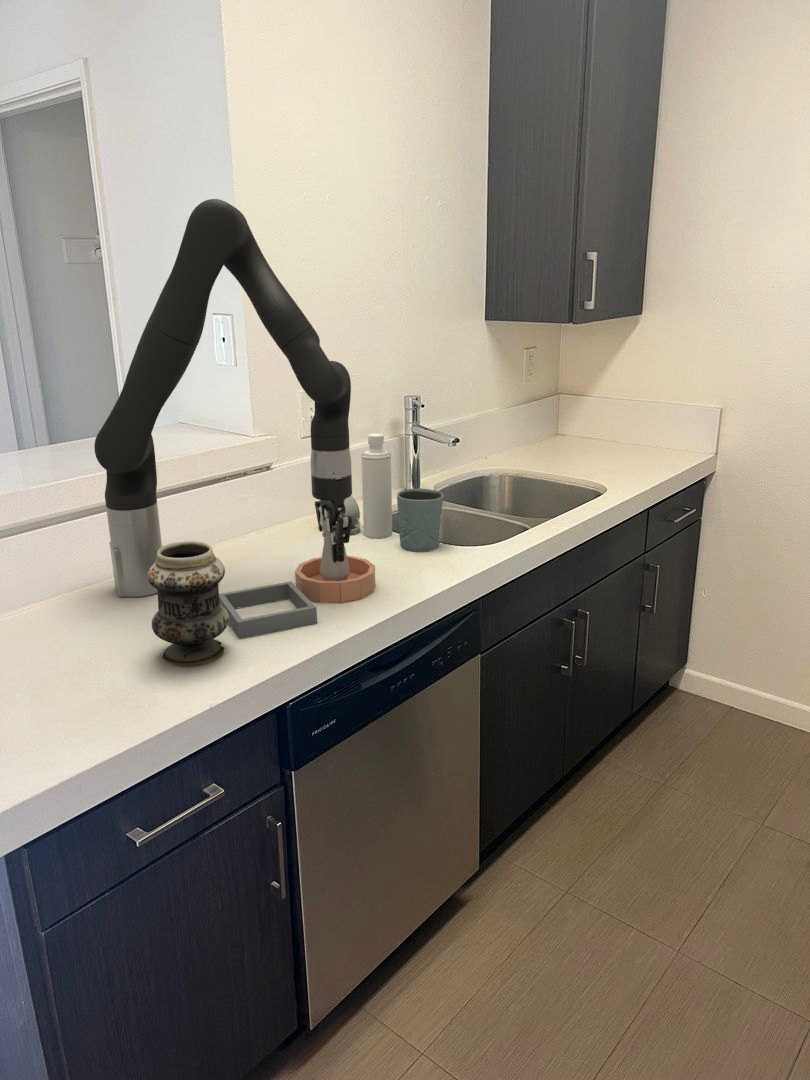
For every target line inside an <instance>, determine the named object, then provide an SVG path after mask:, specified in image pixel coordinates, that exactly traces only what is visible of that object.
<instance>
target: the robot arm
mask: <svg viewBox="0 0 810 1080" xmlns="http://www.w3.org/2000/svg"><path fill="white" fill-rule="evenodd" d="M187 220H188V221H187V223H186V225H185V229H184V232H183V236H182V239H181V242H180V245H179V249H178V253H177V256H176V258H175V261H174V264H173V267H172V269H171V272H170V273H169V276H168V278H167V279H166V282H165V284H164V286H163V288H162V289H161V292H160V294H159V297H158V299H157V301H156V303H155V306H154V308H153V310H152V312H151V313H150V316H149V317H148V321H146V322H147V323H146V324H145V327H144V329H143V332H142V334H141V336H140V338H139V341H138V344H137V346H136V349H135V352H134V355H133V357H132V359H131V361H130V362H131V363H130V365H129V367H128V371H127V374H126V377H125V381H124V384H123V386H122V390H121V391H120V394H119V396H118V398H117V400H116V402H115V404H114V406H113V408H112V409H111V411H110V413H109V415H108V417H107V418H106V420H105V422H104V423H103V424H102V427H101V428H100V429H99V431H98V432H97V435H96V437H95V440H94V454H95V457H96V459H97V462H98V463H99V465H100V466H101V467H102V468H103V469H105V472H106V485H105V490H104V501H105V509H106V517H107V523H108V531H109V532H108V533H109V538H110V542H109V549H110V557H111V564H112V565H111V566H112V570H113V571H112V573H113V578H114V579H113V581H114V585H115V590H116V593H117V595H118V597H119V598H124V597H130V598H132V597H133V598H135V597H136V598H138V597H139V598H140V597H146V596H147V597H148V596H151V595H154V594H158V593H157V589H156V588H154V587H153V586H152V585H151V584H150V582H149V580H148V571H149V569H150V567H151V566H152V565H153V564H154V563H155V562H156V560H157V552H158V550H159V549H160V548H161V547H162V546H163V544H162V535H161V526H160V516H159V508H158V507H159V506H158V505H159V504H158V499H157V497H158V496H157V488H158V476H157V475H158V474H157V461H156V451H155V444H154V442H155V441H154V438H153V436H152V435H153V434H152V433H153V430H154V427H155V425H156V422H157V420H158V417H159V415H160V412H161V410H162V408H163V407H164V406H165V404H166V402H167V401H168V399H169V398H170V397H171V395H172V393H173V392H174V390H175V389H176V387H177V386H178V384H179V383H180V381H181V379H182V377H183V376H184V374H185V372H186V371H187V368H188V367H189V365H190V363H191V361H192V359H193V356H194V354H195V351H196V350H197V348H198V345H199V343H200V340H201V338H202V334H203V330H204V327H205V322H206V317H207V311H208V305H209V302H210V301H209V300H210V297H211V293H212V289H213V287H214V285H215V282H216V280H217V278H218V277H219V274H220V273H221V271H222V269H223V268H224V267H225V269H227V271H228V272H230V273H231V274H232V276H234V278H235V280H236V281H237V282H238V283H239V285H240V286H241V288H242V289H243V291H244V292H245V293H246V296H247V297H248V299H249V301H250V303H251V304H252V306H253V308H254V311H255V312H256V314H257V316H258V318H259V320H260V321H261V323H262V324H263V327H264V328H265V329H266V331H267V332H268V334H269V336H270V337H271V338H272V339H273V341H274V342H275V344H276V345H277V347H278V349H280V351H281V352H282V353H283V355H284V356H285V357H286V359H287V361H288V363H289V365H290V367H291V369H292V371H293V373H294V375H295V377H296V379H297V381H298V383H299V385H300V386H301V388H302V389H303V391H304V392H305V394H306V395H307V396H308V398H309V399H311V400H312V401H313V402H314V414H313V417H312V420H311V422H310V443H311V444H310V447H311V450H310V451H311V452H310V473H311V475H310V478H311V480H310V481H311V495H312V497H313V498H314V499H316V500H318V501H314V506H315V512H316V519H317V520H316V521H317V526H318V531H319V532H320V533H321V532H322V533H321V535H322V537H323V540H324V539H325V533H326V532H325V531H324V530H323V528H322V523H323V521H324V520H325V519H326V520H327V528H328V532H330V533H331V542H332V557H333V562H334V563H336V561H338V562H343V561H344V546H345V544H348V543H350V538H351V537H350V536H351V535H350V532H351V529H352V526H351V525H352V517H351V516H346V507H345V505H344V500H345V499H346V498H349V497H350V496H353V481H352V479H353V478H352V477H353V476H352V457H351V456H352V455H351V451H350V450H351V449H350V428H349V414H350V410H351V409H350V407H351V406H350V405H351V393H352V383H351V376H350V374H349V373H350V372H349V370H348V369H347V368H346V366H344V365H343V363H340V362H338V361H336V360H330V359H329V358H328V357H327V355H326V353H325V351H324V350H323V348H322V347H321V344H320V343H321V339H320V336H319V335H318V333H317V331H316V330H315V327H313V325H312V324H311V322H310V320H308V318H307V317H306V315H305V313H304V312H303V311H302V310H301V308H300V306H298V303H296V301H295V300H294V298H292V296H291V295H290V293H289V292H288V291H287V289H286V288H285V286H284V285H283V284H282V283H281V281H280V279H279V278H278V277H277V275H276V273H275V272H274V271H273V269H272V268H271V266H270V264H269V262H268V261H267V259H266V258H265V255H264V254H263V252H262V249H261V248H260V246H259V244H258V242H257V239H256V238H255V236H254V234H253V232H252V230H251V228H250V225H249V223H248V221H247V219H246V217H245V215H244V214H243V212H242V211H240V210H239V209H238V208H237V207H235V206H234V205H232V204H230V203H229V202H227V201H224V200H223V199H220V198H211V199H210V198H209V199H206V200H203V201H202V202H200V203H198V204H197V206H195V208H194V209H193V210H192V211H191V213H190V215H189V218H188V219H187ZM332 525H333V526H335V525H337V526H336V528H333V527H332ZM335 532H336V534H335ZM340 536H341V537H340Z"/></svg>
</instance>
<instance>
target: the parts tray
mask: <svg viewBox="0 0 810 1080" xmlns="http://www.w3.org/2000/svg"><path fill="white" fill-rule="evenodd" d="M219 598H220V605H221V606H222V607H224V608H225V609H226V611H227V612H228V615H229V623H228V625H229V624H230V625H229V626H230V628H231V627H232V628H231V629H232V630H234V631H233V632H234V633H235V635H236V636H237V638H238V639H239V638H240V639H244V638H249V637H255V636H260V635H264V634H269V633H273V632H279V631H283V630H290V629H293V628H294V629H295V628H299V627H300V628H301V627H304V626H310V625H315V624H318V611H317V610H318V609H317V606H316V605H315V604H314V603H313V601H311V600H309V599H308V598H307V597H306V596H305V595H304V594H303V593H302V592H301V591H300V590H299V589H298V588H297V587H296V584H294V583H293V581H291V580H290V581H286V582H279V583H278V582H277V583H274V584H269V585H268V584H266V585H262V586H261V585H260V586H258V587H257V586H255V587H250V588H244V589H241V590H239V589H238V590H234V591H229V592H223V593H219ZM283 600H289V601H290V602H291V603H292V604H293V605H294V607H296V608H294V609H289V610H283V611H279V612H273V613H268V614H263V615H262V614H261V615H257V616H251V617H246V618H242V617H241V616H240V614H239V613H238V611H237V610H236V609H239V608H238V607H241V608H246V607H250V606H251V605H252V606H257V605H261V604H267V603H272V602H278V601H283ZM234 608H235V609H234Z"/></svg>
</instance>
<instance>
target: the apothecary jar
mask: <svg viewBox="0 0 810 1080" xmlns="http://www.w3.org/2000/svg"><path fill="white" fill-rule="evenodd" d="M225 574H226V567H225V564H224V563H223V561H221V560H220V558H218V557H217V556H215V553H214V551H213V548H212V545H210V544H208V543H206V542H203V541H198V540H197V541H196V540H195V541H193V540H187V541H186V540H185V541H176V542H172V543H168V544H165V545H162V547H161V548H160V549H159V550H158V552H157V560H156V562H155V563H154V564H153V565H152V566H151V567H150V569H149V571H148V580H149V582H150V584H151V585H152V586H153V587H154V588H156V589H157V593H156V594H157V603H158V604H157V605H158V609H157V612H156V613H155V614H154V615H153V616H152V619H151V630H152V631H153V634H154V635H155V636H156V637H157V638H159V639H161V640H162V641H164V642H166V643H170V644H171V645H169V646H167V647H166V648H165V649H164V650H163V652H162V659H163V661H164V662H165V663H167V664H169V665H172V666H174V667H184V668H185V667H196V666H198V667H199V666H203V665H206V664H209V663H213V662H214V661H217V660H218V659H220V658H221V657H222V656H223V655H224V654H225V650H226V648H225V647H224V646H223V644H222V642H221V641H219V640H217V639H215V638H217V637H219V636H220V635H221V634H223V632H224V631H225V630H226V629H227V627H228V626H229V615H228V612H227V611H226V609H225V608H224V607H222V606H221V605H220V598H219V594H220V589H219V588H220V587H219V583H221V582H222V580H223V579H224V578H225Z"/></svg>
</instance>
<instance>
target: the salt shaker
mask: <svg viewBox="0 0 810 1080" xmlns="http://www.w3.org/2000/svg"><path fill="white" fill-rule="evenodd" d="M336 526H337V525H335V526H333V525H332V527H333V528H336ZM322 528H323V530H324V531H325V532H326V533H325V537H324V538H325V539H324V538H323V547H322V554H321V557H322V559H321V566H320V574H321V576H322V578H323V580H324V581H342V580H347V578H348V576H349V574H350V568H349V563H348V559H347V556H348V554H347V551H346V546H345V545H344V561H343V562H338V561H336V563H334V562H333V557H332V542H331V533H330V532H328V528H327V520H326V519H325V520H324V521H323V523H322ZM335 534H336V532H335ZM340 537H341V536H340Z"/></svg>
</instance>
